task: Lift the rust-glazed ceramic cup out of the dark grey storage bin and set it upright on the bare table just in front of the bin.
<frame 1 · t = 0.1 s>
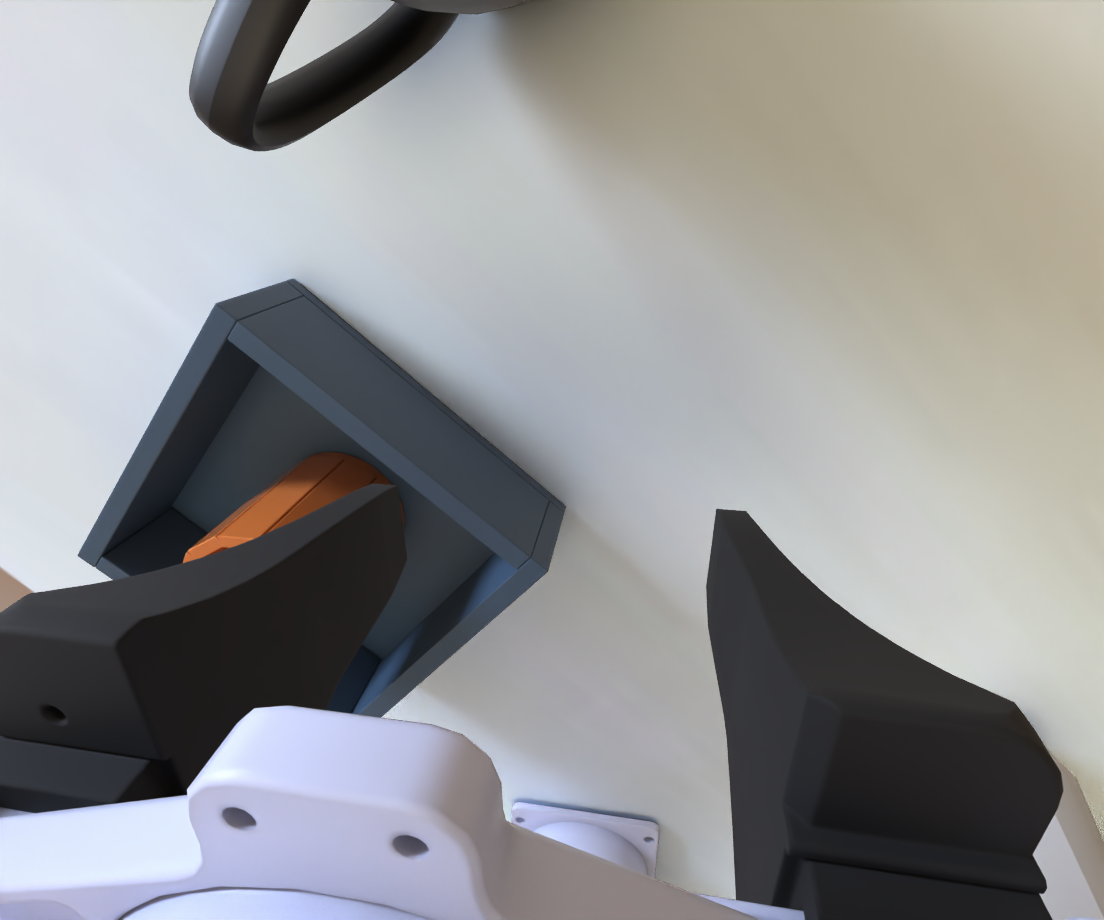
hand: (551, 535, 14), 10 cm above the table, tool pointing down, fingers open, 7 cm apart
dark grey storage bin: (349, 503, 27), on the table
cup: (344, 509, 26), resting on dark grey storage bin
salt shaker: (966, 743, 27), on the table
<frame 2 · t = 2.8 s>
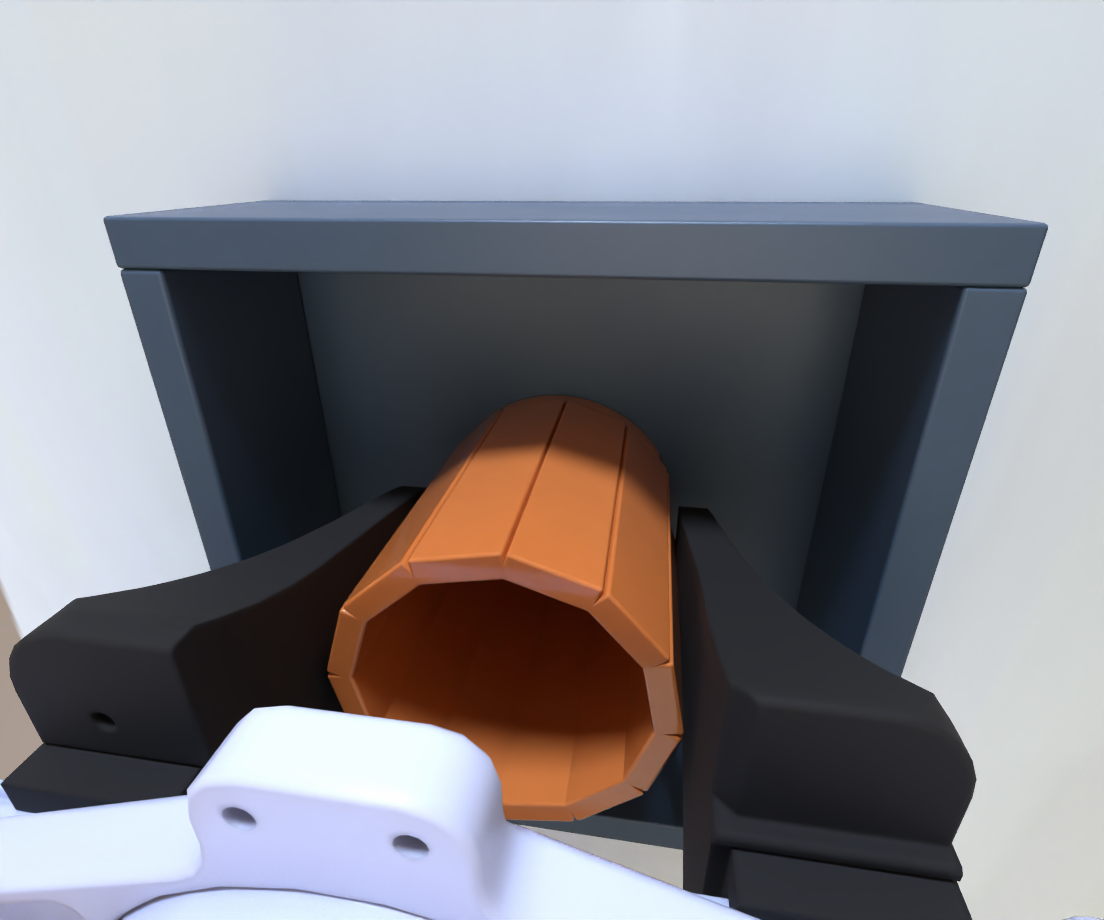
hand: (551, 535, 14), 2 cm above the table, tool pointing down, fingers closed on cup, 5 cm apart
dark grey storage bin: (564, 489, 16), on the table
cup: (560, 498, 15), point 1 cm above the table, touching dark grey storage bin, gripper
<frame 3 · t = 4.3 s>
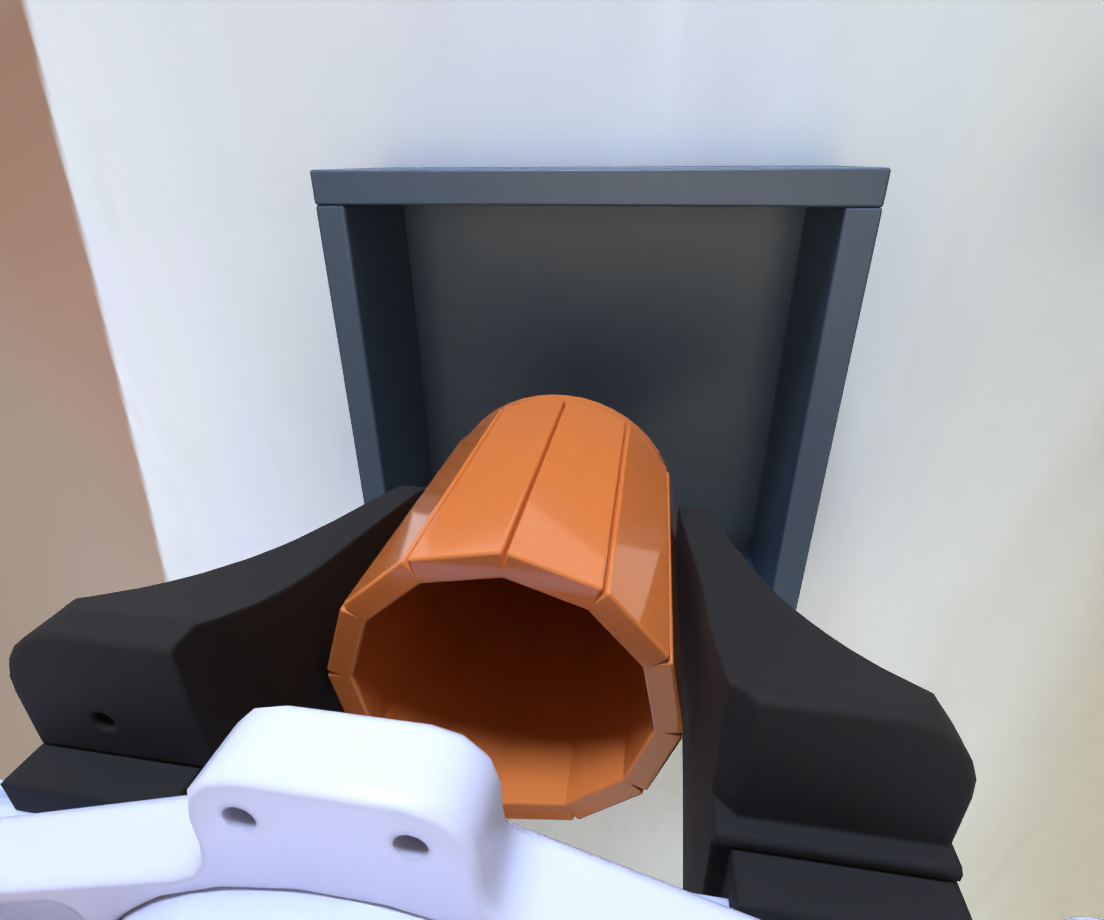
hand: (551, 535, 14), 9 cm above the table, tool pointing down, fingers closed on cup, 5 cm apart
dark grey storage bin: (592, 384, 21), on the table
cup: (560, 498, 15), point 7 cm above the table, touching gripper
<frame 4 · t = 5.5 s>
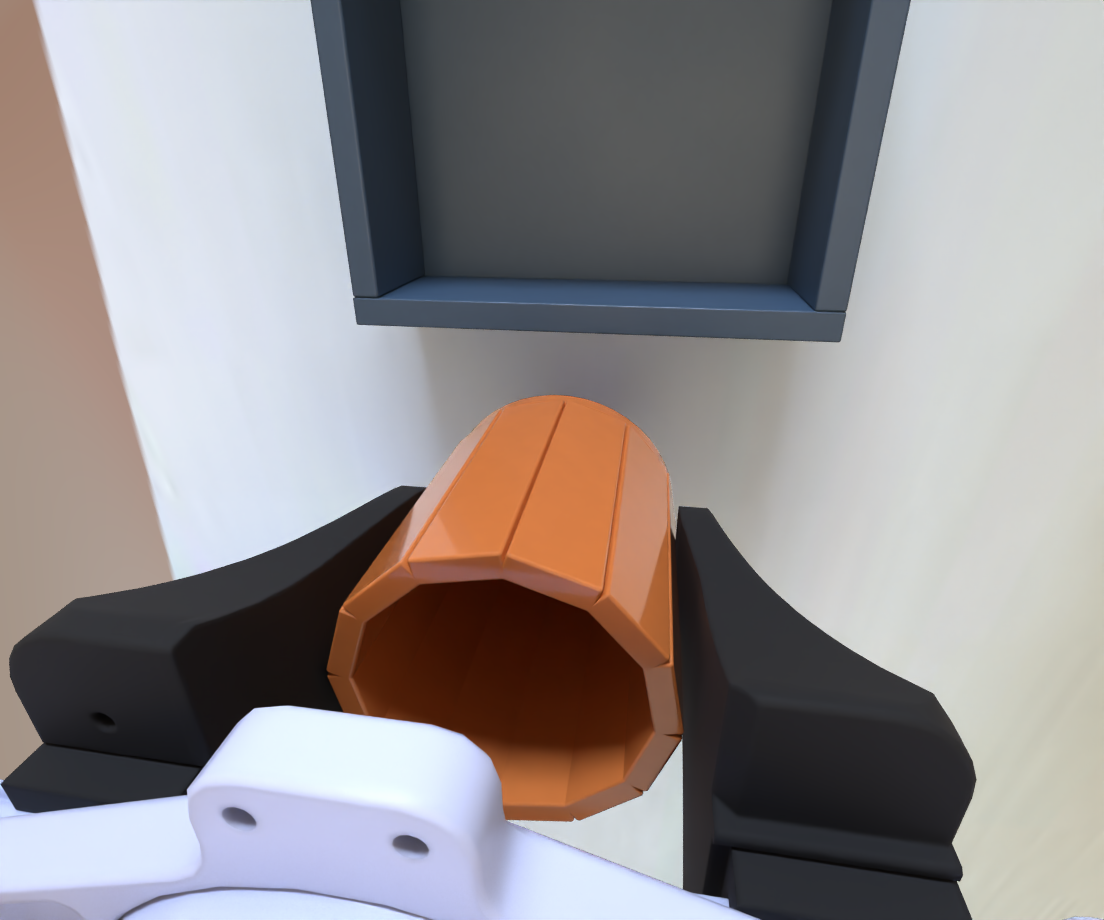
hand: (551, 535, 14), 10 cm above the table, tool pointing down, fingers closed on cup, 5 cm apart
dark grey storage bin: (606, 68, 18), on the table
cup: (560, 498, 15), point 8 cm above the table, touching gripper
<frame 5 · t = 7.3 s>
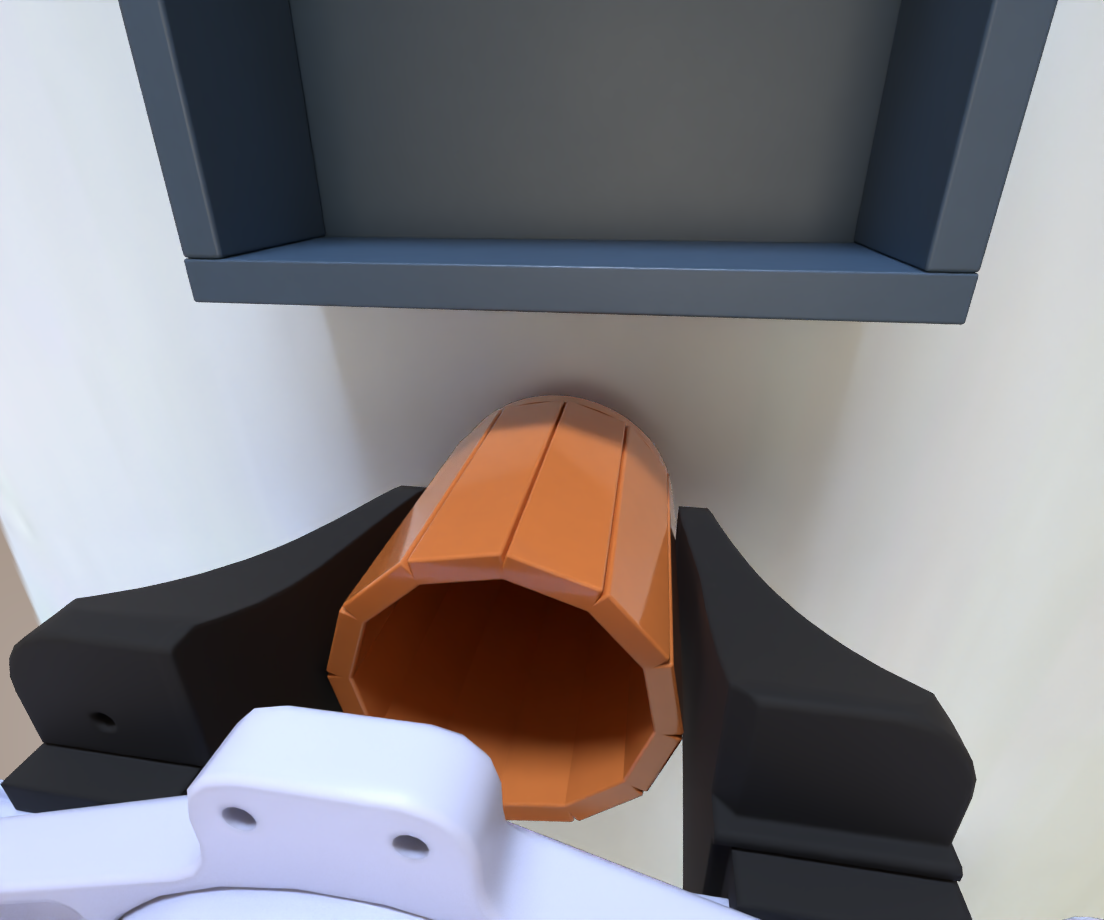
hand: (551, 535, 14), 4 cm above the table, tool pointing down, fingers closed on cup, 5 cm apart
cup: (560, 498, 15), point 2 cm above the table, touching gripper
when the fingers open (2 cm above the table, at t = 8.6 s): cup stays where it is, on the table.
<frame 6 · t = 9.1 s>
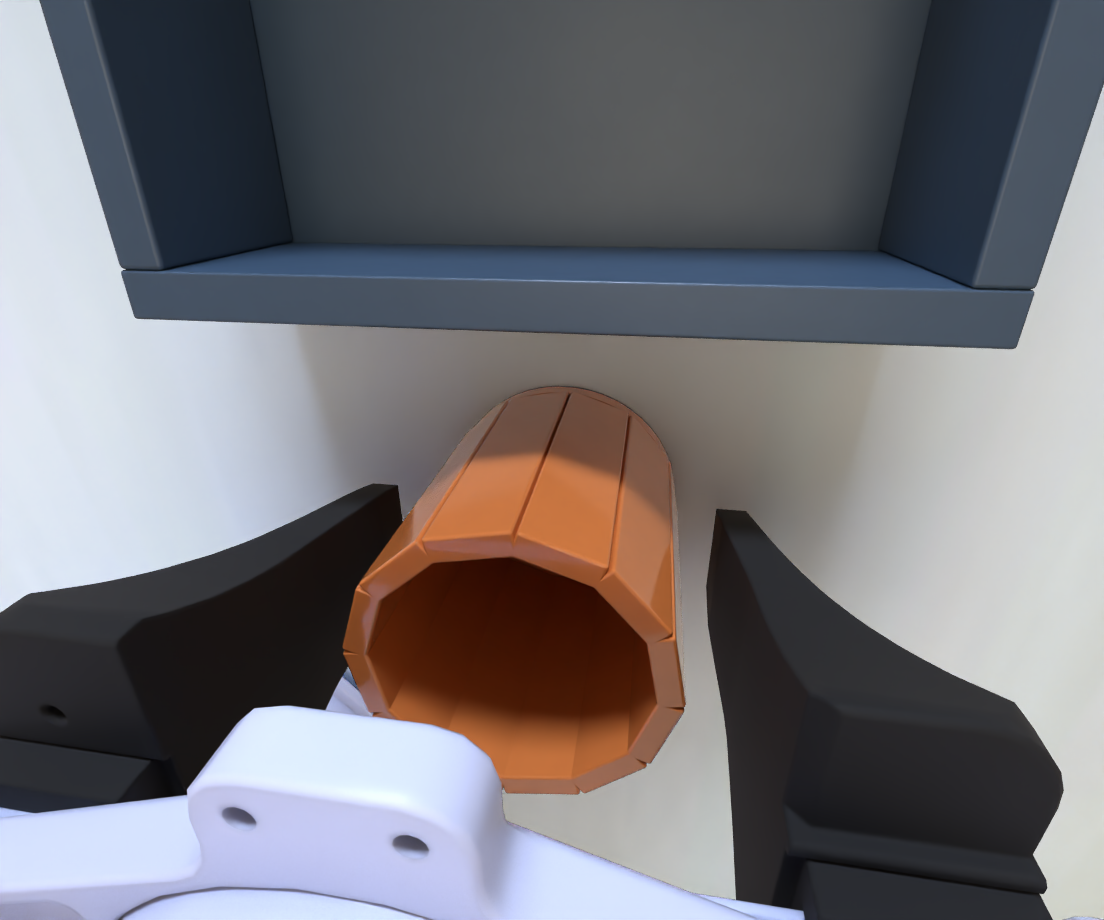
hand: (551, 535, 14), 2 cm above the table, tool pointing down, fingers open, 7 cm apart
cup: (564, 488, 16), on the table
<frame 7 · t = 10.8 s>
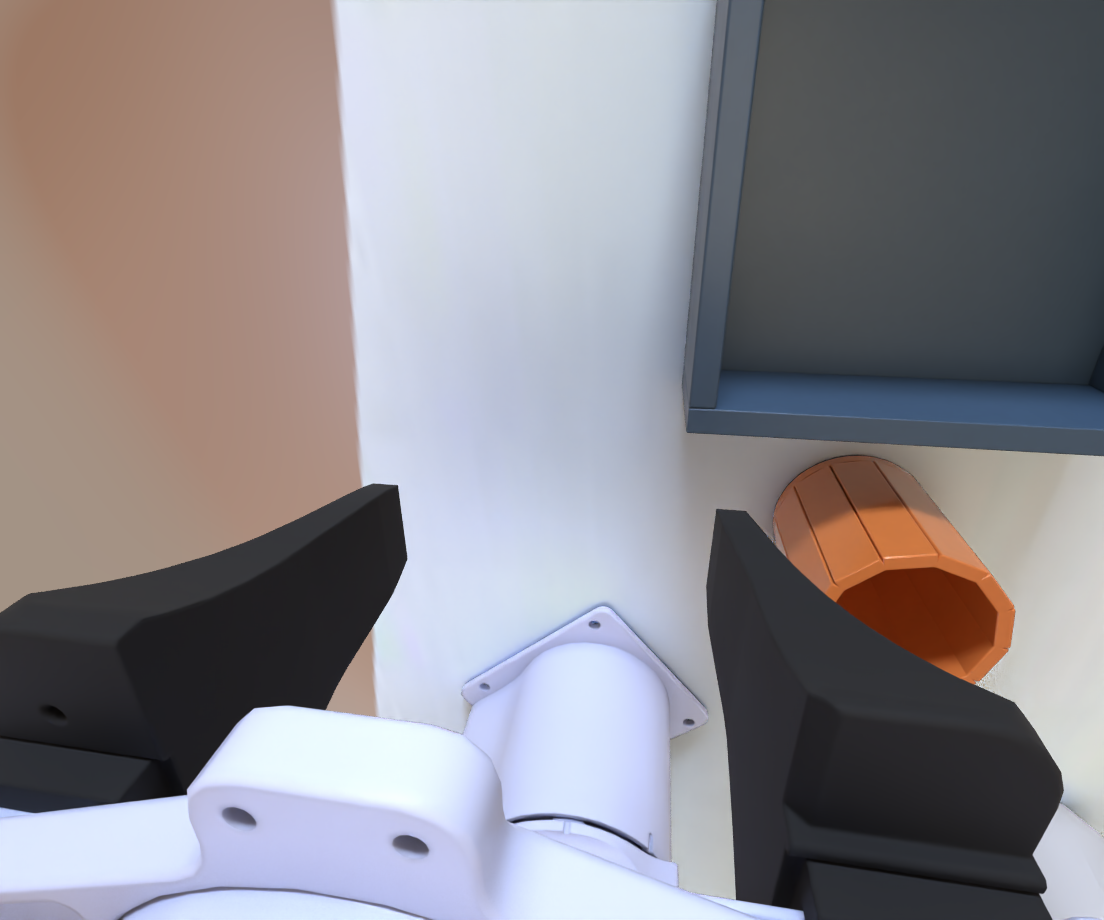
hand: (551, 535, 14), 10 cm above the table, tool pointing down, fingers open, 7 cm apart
dark grey storage bin: (930, 180, 18), on the table
cup: (847, 519, 24), on the table
salt shaker: (1014, 814, 29), on the table
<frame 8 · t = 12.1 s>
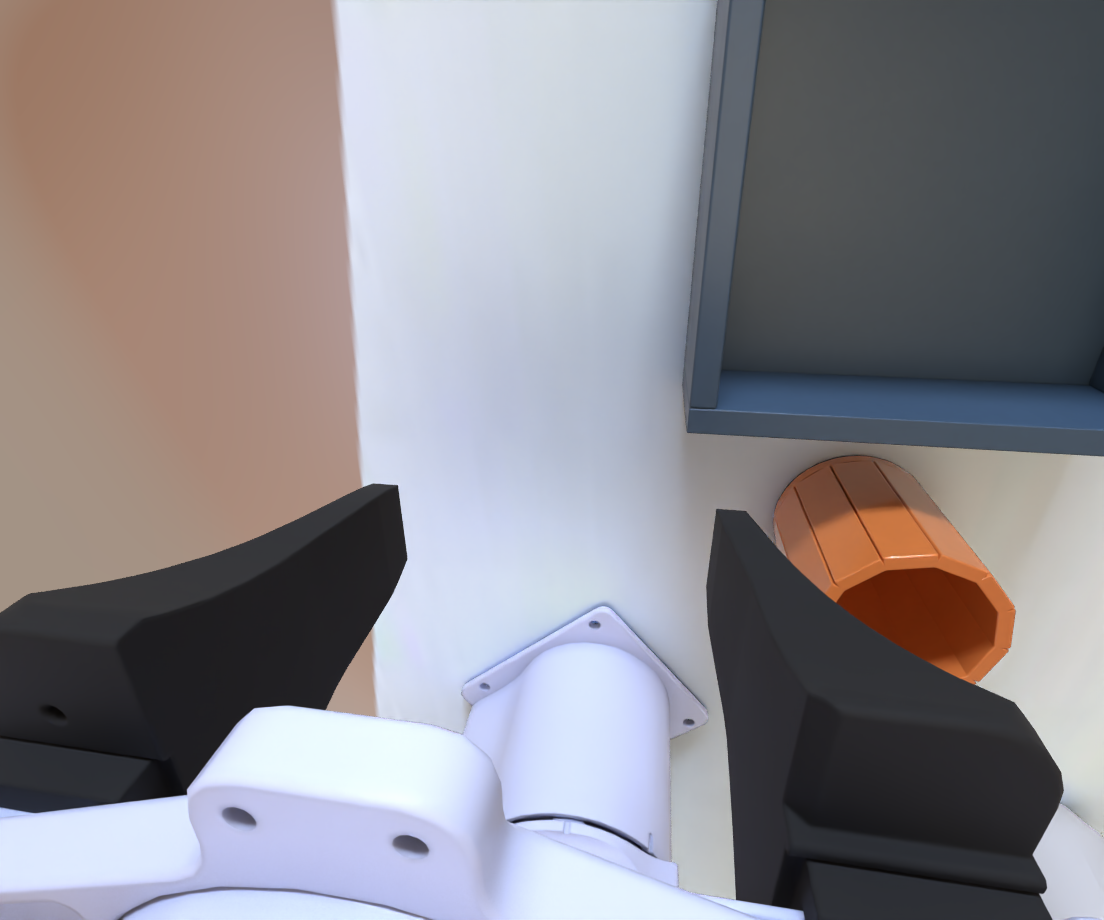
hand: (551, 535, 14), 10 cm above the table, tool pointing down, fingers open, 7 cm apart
dark grey storage bin: (931, 180, 18), on the table
cup: (847, 519, 24), on the table
salt shaker: (1014, 814, 29), on the table
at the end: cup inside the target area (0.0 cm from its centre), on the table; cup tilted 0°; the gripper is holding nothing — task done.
